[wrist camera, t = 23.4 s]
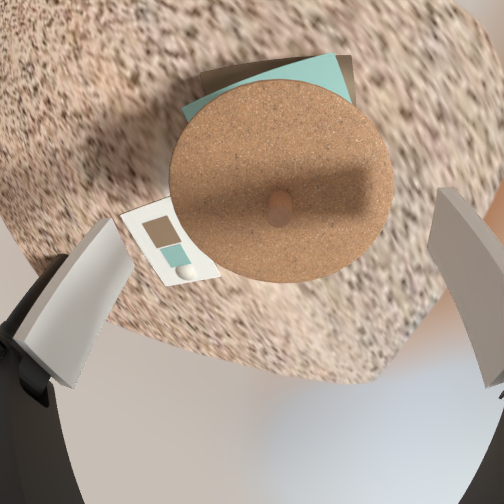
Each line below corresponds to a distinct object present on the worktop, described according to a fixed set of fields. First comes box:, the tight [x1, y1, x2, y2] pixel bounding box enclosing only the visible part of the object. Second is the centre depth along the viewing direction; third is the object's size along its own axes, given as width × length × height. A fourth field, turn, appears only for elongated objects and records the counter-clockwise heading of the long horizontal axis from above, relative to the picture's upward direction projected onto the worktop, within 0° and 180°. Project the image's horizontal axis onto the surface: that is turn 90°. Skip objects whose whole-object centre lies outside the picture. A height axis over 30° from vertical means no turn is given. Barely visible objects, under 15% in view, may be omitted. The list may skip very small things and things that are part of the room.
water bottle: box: [0, 254, 69, 344], centre depth 38 cm, size 10×10×23 cm
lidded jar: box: [169, 79, 394, 283], centre depth 15 cm, size 11×11×9 cm
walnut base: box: [200, 55, 356, 107], centre depth 26 cm, size 13×13×5 cm
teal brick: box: [181, 52, 352, 122], centre depth 21 cm, size 11×11×6 cm
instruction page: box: [120, 196, 221, 286], centre depth 40 cm, size 14×10×1 cm
